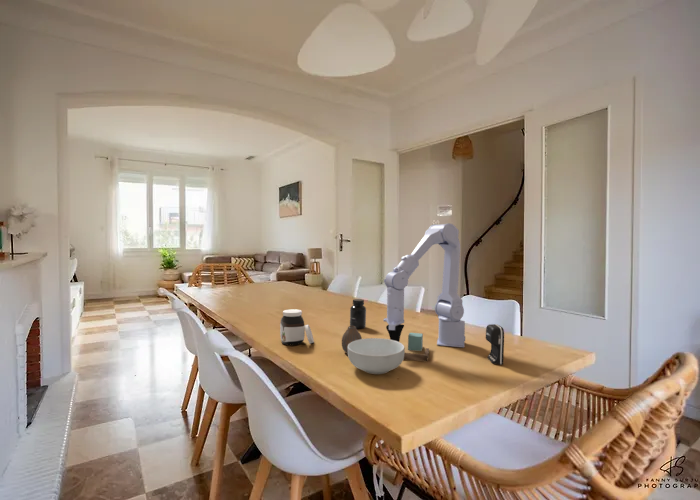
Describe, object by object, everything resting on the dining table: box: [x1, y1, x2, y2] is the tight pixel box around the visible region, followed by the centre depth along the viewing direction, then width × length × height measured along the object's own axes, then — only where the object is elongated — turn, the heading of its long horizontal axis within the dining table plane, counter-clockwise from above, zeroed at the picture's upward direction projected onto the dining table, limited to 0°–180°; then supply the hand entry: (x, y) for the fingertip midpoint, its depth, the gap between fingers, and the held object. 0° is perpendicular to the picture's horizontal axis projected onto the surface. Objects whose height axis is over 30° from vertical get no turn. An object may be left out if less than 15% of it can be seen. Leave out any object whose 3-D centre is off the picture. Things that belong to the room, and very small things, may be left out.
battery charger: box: [485, 323, 505, 365], centre depth 113 cm, size 7×4×11 cm, turn 177°
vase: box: [341, 325, 363, 355], centre depth 121 cm, size 7×7×9 cm
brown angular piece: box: [403, 347, 430, 362], centre depth 119 cm, size 17×8×2 cm, turn 74°
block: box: [407, 332, 424, 352], centre depth 126 cm, size 4×4×5 cm
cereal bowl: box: [347, 337, 406, 375], centre depth 105 cm, size 17×17×7 cm
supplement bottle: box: [349, 298, 367, 330], centre depth 155 cm, size 7×7×12 cm
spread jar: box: [279, 308, 315, 346], centre depth 132 cm, size 12×11×12 cm
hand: (394, 346), depth 124 cm, fingers closed
